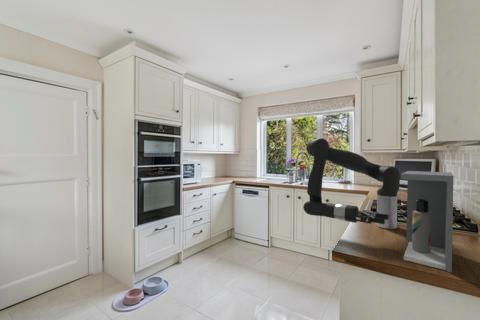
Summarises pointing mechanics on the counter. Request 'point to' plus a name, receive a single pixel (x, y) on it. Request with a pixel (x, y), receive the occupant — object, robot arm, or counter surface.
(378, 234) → the counter surface
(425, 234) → the lotion bottle
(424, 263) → the shelf mat
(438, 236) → the open shelf
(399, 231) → the counter surface
